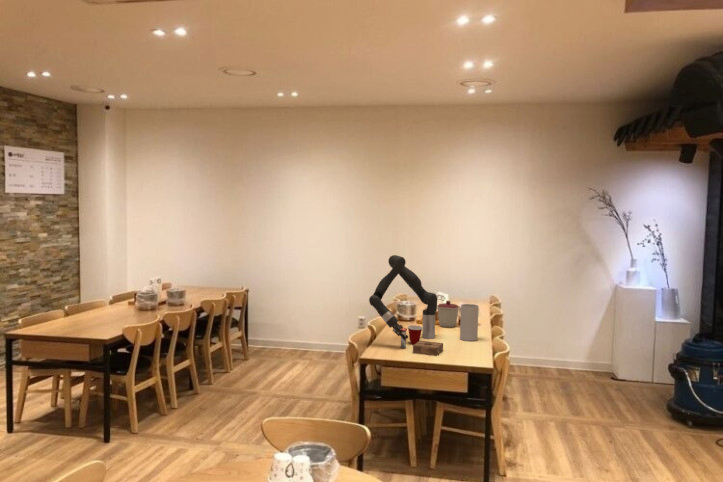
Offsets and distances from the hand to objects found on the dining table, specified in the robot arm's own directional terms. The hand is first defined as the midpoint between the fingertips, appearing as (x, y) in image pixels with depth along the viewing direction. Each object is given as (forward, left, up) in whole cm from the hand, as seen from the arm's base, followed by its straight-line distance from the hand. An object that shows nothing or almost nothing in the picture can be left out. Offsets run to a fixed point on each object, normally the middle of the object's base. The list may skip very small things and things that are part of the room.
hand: (406, 338), depth 386 cm
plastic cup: (-16, +1, -7) cm, 17 cm away
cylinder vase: (-48, +32, -7) cm, 58 cm away
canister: (-88, +6, -7) cm, 88 cm away
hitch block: (+2, +16, -7) cm, 17 cm away
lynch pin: (0, -2, -6) cm, 7 cm away
